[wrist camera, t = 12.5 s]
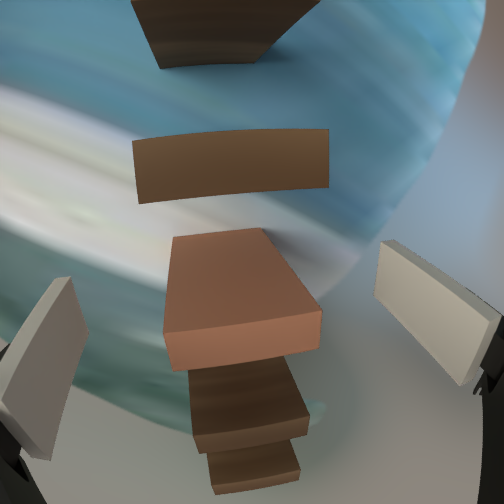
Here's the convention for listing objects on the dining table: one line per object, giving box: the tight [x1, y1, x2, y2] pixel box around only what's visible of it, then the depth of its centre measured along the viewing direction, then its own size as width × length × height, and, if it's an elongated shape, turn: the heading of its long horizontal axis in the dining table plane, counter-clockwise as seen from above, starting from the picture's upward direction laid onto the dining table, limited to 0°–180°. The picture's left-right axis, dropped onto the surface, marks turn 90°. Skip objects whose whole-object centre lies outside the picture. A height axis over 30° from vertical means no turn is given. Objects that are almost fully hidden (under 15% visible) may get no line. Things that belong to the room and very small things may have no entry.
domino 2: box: [132, 129, 329, 204], centre depth 11 cm, size 2×5×9 cm, turn 93°
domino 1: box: [131, 0, 320, 69], centre depth 9 cm, size 2×5×9 cm, turn 93°
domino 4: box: [188, 356, 310, 454], centre depth 16 cm, size 2×5×9 cm, turn 93°
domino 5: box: [207, 439, 301, 495], centre depth 18 cm, size 2×5×9 cm, turn 93°
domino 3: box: [163, 228, 322, 371], centre depth 14 cm, size 2×5×9 cm, turn 93°
